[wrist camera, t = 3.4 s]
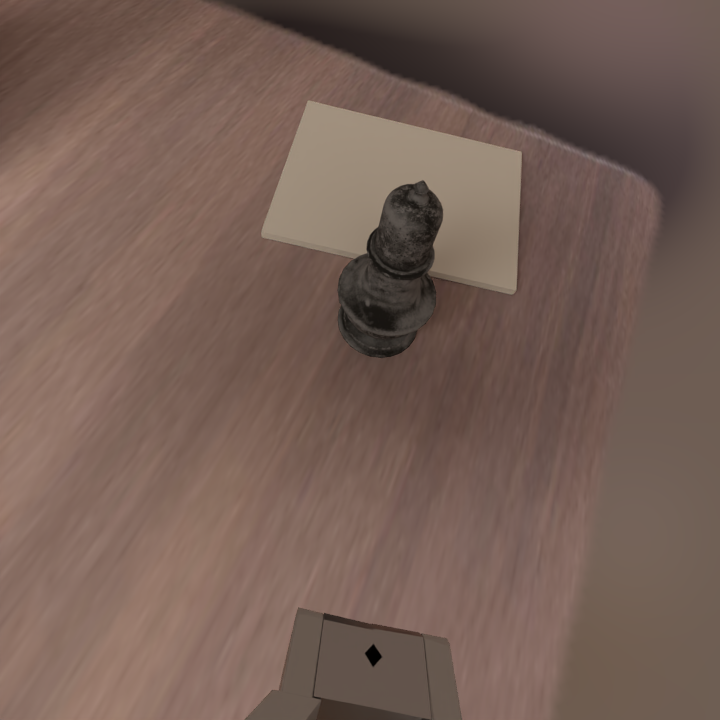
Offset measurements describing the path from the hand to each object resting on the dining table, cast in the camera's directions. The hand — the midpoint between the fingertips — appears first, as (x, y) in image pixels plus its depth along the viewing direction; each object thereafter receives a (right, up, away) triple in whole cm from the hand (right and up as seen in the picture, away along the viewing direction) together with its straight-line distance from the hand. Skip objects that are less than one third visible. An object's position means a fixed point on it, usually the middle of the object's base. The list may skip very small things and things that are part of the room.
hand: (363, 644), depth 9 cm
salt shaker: (+1, +8, +22) cm, 23 cm away
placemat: (+3, +18, +26) cm, 32 cm away
